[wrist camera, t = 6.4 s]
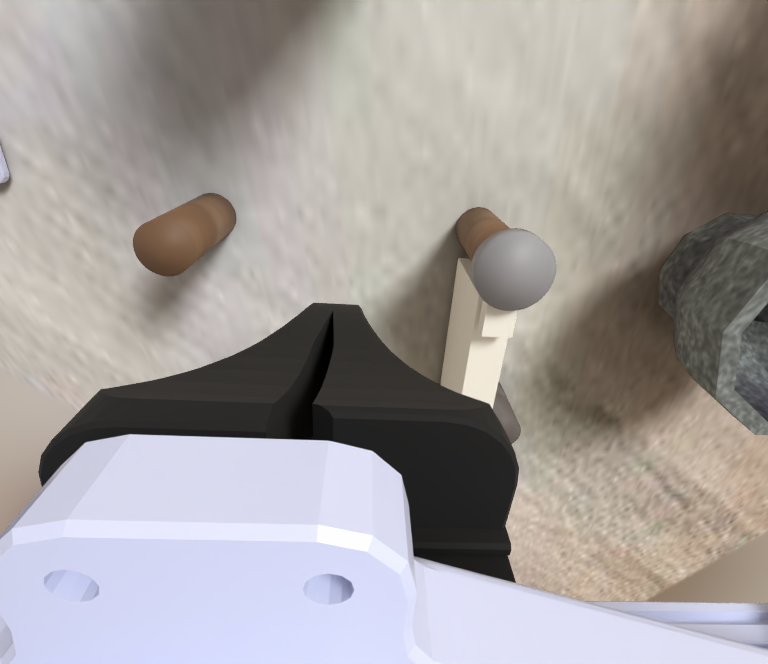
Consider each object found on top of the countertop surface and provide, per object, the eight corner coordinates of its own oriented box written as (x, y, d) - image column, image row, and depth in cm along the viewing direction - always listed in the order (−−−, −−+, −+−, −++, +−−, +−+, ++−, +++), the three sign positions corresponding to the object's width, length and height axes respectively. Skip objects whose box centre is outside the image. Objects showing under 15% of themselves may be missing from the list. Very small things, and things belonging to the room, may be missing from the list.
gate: (452, 198, 20) (482, 232, 14) (512, 201, 20) (565, 236, 14) (425, 414, 25) (438, 497, 20) (471, 415, 25) (498, 499, 20)
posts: (220, 397, 25) (182, 468, 20) (189, 191, 20) (127, 219, 15) (499, 406, 25) (528, 477, 21) (542, 210, 20) (596, 243, 15)
